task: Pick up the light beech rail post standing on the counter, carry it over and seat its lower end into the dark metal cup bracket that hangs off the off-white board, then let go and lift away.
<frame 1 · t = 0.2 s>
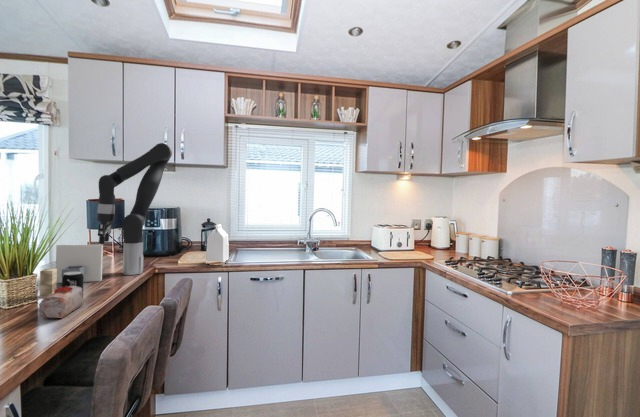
hand: (103, 242, 159), 17 cm above the counter, tool pointing down, fingers open, 8 cm apart
milk: (217, 263, 199), on the counter
cup bracket: (73, 285, 139), on the counter
beverage can: (72, 302, 119), on the counter
food item: (62, 314, 108), on the counter
rail post: (48, 295, 125), on the counter
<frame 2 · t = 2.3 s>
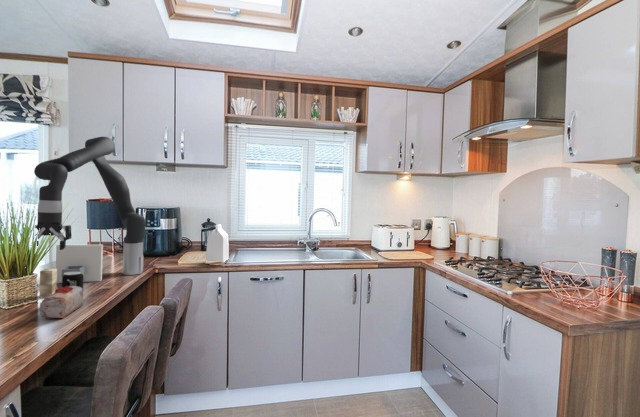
hand: (49, 249, 124), 19 cm above the counter, tool pointing down, fingers open, 8 cm apart
nothing on the counter moved.
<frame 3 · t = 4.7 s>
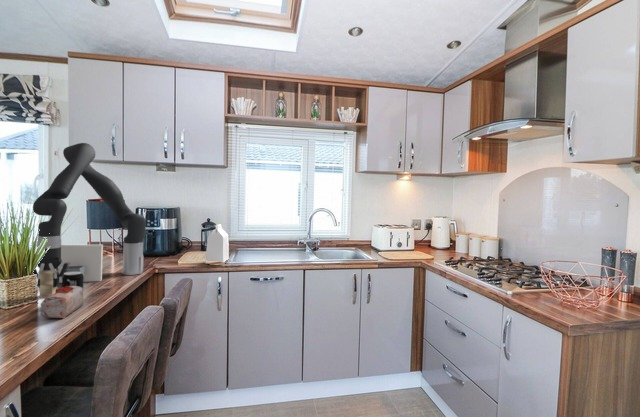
hand: (48, 286, 125), 4 cm above the counter, tool pointing down, fingers closed on rail post, 4 cm apart
rail post: (48, 295, 125), on the counter, touching gripper
everything else where it was.
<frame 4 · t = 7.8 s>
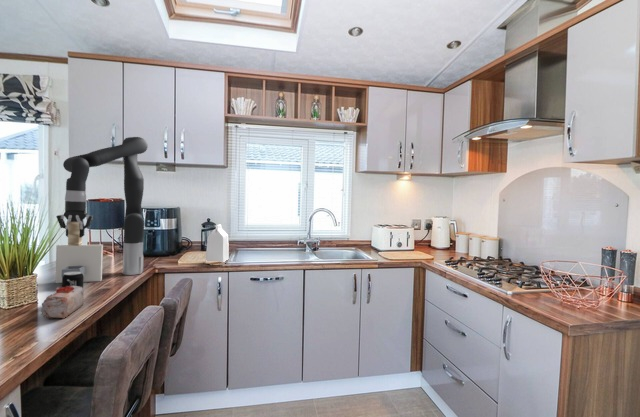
hand: (75, 236, 139), 23 cm above the counter, tool pointing down, fingers closed on rail post, 4 cm apart
rail post: (75, 244, 139), point 19 cm above the counter, touching gripper
everything else where it was.
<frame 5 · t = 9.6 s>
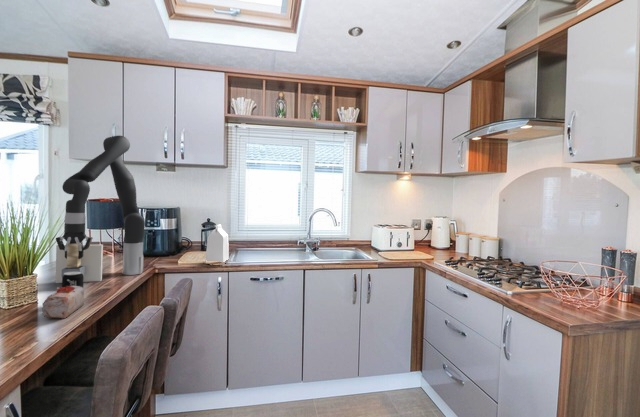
hand: (74, 258, 139), 13 cm above the counter, tool pointing down, fingers closed on rail post, 4 cm apart
rail post: (73, 266, 139), point 9 cm above the counter, touching gripper
everything else where it was.
when the fingers open (10 cm above the counter, at t = 11.1 s): rail post stays where it is, resting on cup bracket.
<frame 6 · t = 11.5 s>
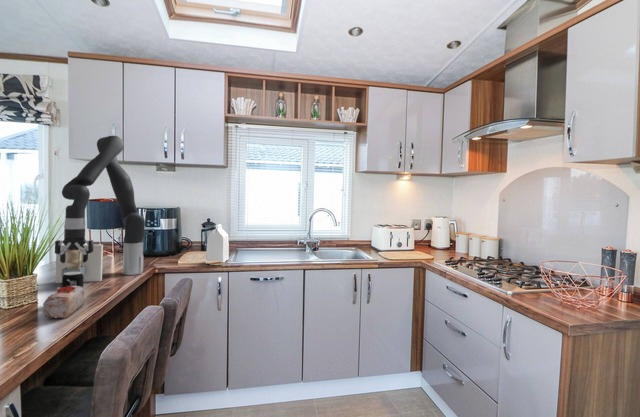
hand: (74, 262, 139), 11 cm above the counter, tool pointing down, fingers open, 7 cm apart
rail post: (73, 272, 139), point 6 cm above the counter, touching cup bracket
everything else where it was.
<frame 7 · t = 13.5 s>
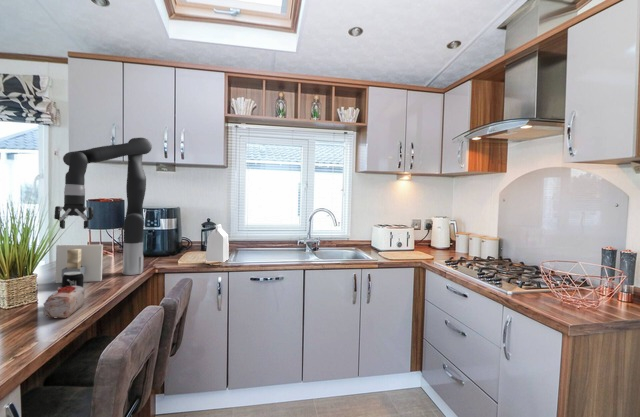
hand: (74, 228, 140), 27 cm above the counter, tool pointing down, fingers open, 8 cm apart
nothing on the counter moved.
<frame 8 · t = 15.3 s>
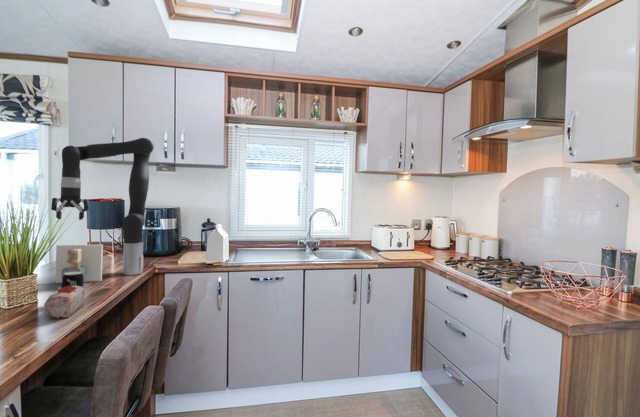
hand: (70, 219, 148), 30 cm above the counter, tool pointing down, fingers open, 8 cm apart
nothing on the counter moved.
at the end: rail post 0.0 cm off-centre on the cup bracket, point 6.0 cm above the cup bracket's base; rail post tilted 0°; the gripper is holding nothing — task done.
